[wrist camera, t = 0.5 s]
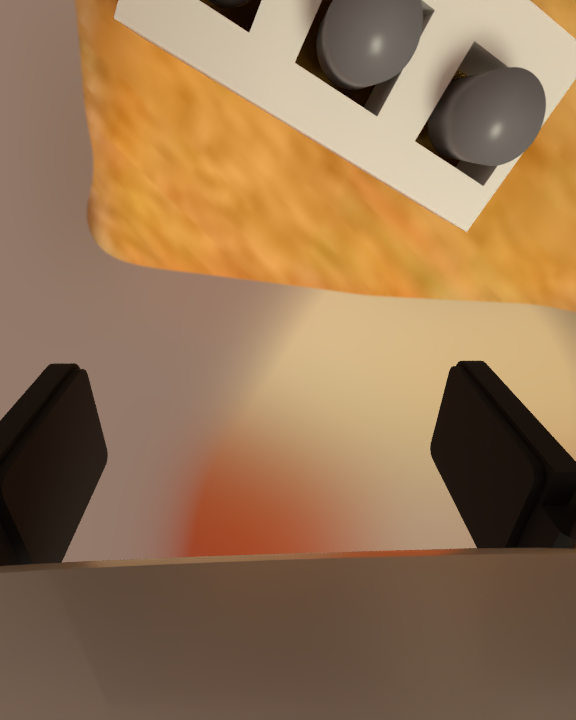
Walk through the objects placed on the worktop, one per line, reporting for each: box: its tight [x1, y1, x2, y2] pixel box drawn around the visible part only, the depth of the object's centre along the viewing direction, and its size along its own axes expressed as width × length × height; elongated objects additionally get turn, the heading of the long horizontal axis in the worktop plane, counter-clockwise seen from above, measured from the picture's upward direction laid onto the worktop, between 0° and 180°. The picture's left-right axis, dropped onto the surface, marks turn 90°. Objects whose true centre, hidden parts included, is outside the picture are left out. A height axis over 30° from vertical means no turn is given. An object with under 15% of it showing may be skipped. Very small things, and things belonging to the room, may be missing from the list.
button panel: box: [114, 0, 576, 232], centre depth 27 cm, size 12×26×6 cm, turn 62°
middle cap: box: [317, 0, 423, 90], centre depth 24 cm, size 5×5×6 cm
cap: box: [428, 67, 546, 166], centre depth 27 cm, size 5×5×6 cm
